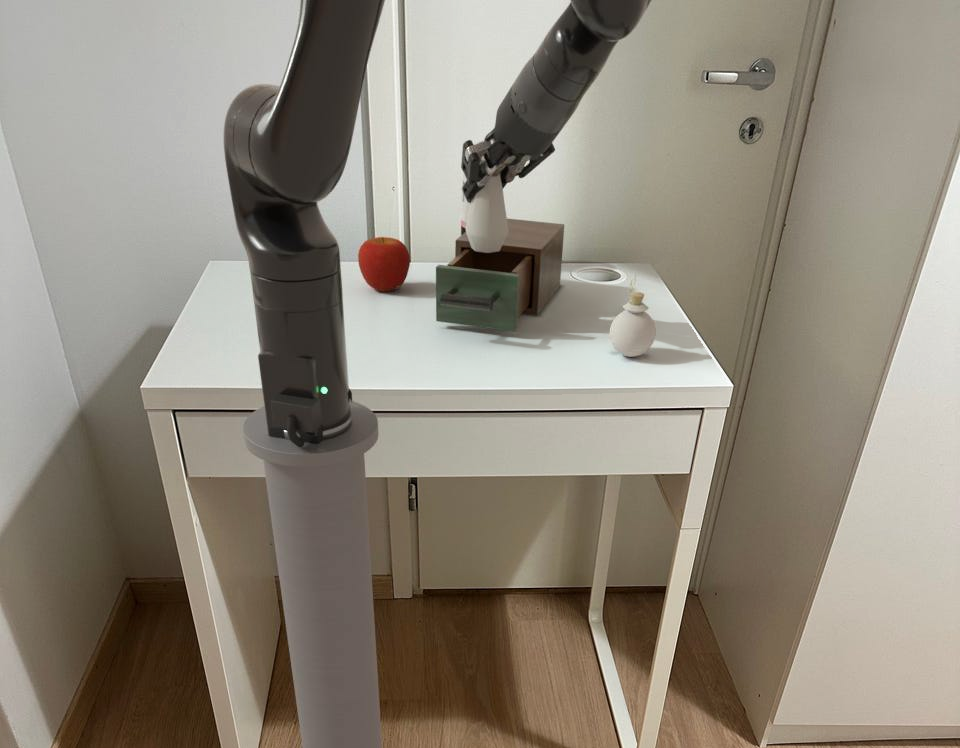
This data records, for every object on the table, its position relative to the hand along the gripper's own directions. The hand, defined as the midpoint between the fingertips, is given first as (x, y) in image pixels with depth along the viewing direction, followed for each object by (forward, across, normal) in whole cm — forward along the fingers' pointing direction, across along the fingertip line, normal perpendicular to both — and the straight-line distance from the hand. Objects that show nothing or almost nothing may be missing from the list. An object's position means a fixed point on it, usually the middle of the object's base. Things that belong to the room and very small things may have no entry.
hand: (478, 194), depth 122 cm
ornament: (-3, -10, +28) cm, 29 cm away
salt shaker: (+3, 0, +6) cm, 7 cm away
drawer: (+10, 0, +12) cm, 16 cm away
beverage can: (+27, -16, -4) cm, 32 cm away
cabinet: (+16, -11, +7) cm, 21 cm away
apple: (+25, +4, -2) cm, 26 cm away
